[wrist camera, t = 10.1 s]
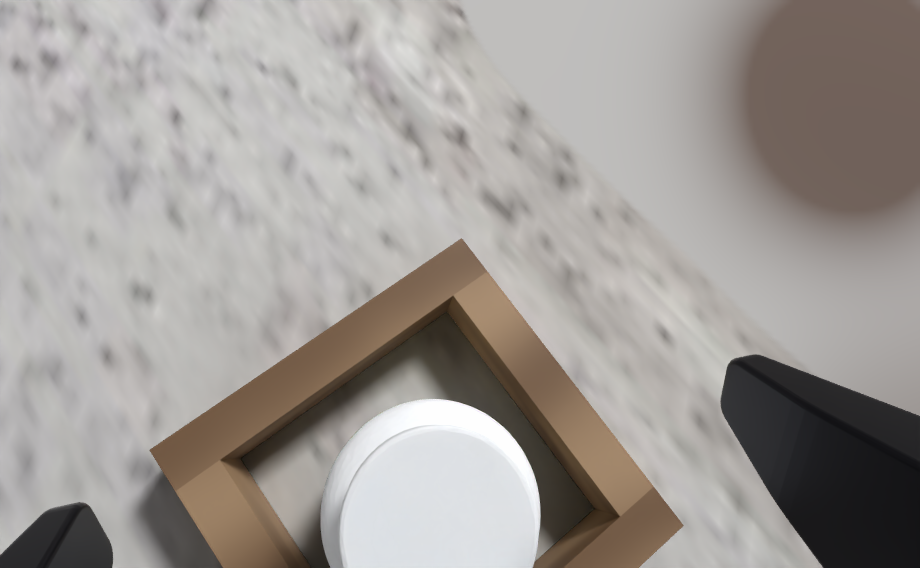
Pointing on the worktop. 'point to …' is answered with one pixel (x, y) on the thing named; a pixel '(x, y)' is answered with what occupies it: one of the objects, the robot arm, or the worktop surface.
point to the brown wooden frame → (358, 347)
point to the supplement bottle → (431, 493)
